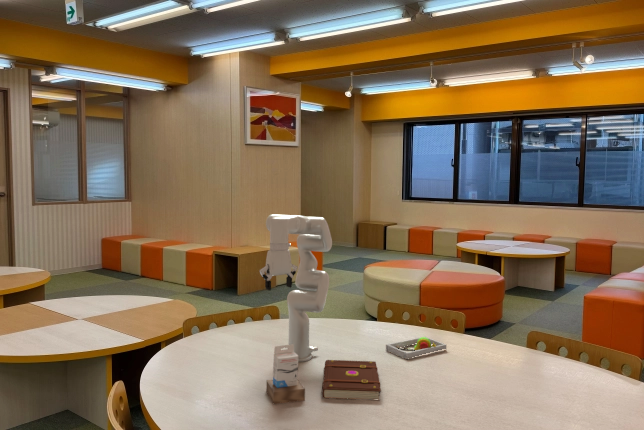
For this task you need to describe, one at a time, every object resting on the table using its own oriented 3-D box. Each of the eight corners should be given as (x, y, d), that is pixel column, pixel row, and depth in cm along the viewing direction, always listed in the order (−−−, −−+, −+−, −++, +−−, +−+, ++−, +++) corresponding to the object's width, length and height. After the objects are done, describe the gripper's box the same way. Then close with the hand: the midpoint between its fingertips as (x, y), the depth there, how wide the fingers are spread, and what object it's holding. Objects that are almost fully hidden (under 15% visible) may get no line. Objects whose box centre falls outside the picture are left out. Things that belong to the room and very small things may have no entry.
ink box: (277, 388, 198) (278, 350, 197) (272, 383, 203) (273, 346, 201) (297, 385, 202) (299, 348, 200) (292, 380, 206) (294, 343, 205)
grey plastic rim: (424, 342, 272) (424, 336, 272) (446, 350, 260) (446, 344, 260) (385, 350, 258) (385, 344, 258) (406, 359, 246) (406, 353, 245)
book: (375, 371, 232) (376, 359, 232) (381, 401, 201) (381, 388, 200) (324, 369, 233) (324, 358, 233) (321, 399, 202) (321, 386, 201)
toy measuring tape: (436, 354, 254) (436, 340, 253) (395, 350, 258) (396, 337, 257) (436, 349, 260) (436, 336, 260) (396, 346, 264) (396, 333, 264)
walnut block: (295, 389, 211) (296, 376, 210) (304, 401, 199) (305, 388, 199) (266, 392, 207) (266, 380, 206) (273, 405, 195) (273, 392, 195)
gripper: (292, 244, 224) (292, 284, 226) (255, 247, 214) (255, 289, 216) (302, 246, 218) (301, 287, 219) (264, 250, 208) (264, 292, 210)
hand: (278, 288), depth 218 cm, fingers open, 9 cm apart
